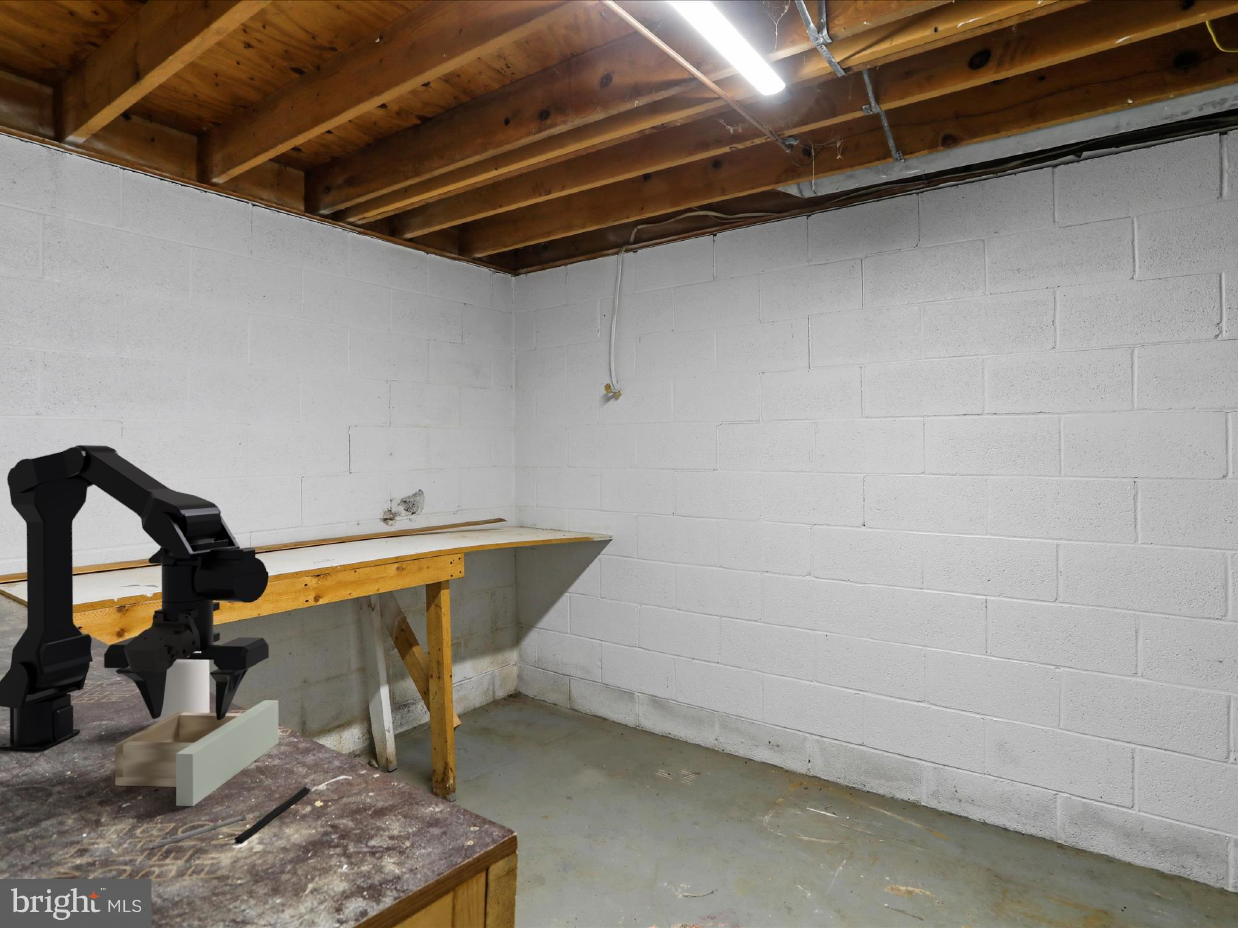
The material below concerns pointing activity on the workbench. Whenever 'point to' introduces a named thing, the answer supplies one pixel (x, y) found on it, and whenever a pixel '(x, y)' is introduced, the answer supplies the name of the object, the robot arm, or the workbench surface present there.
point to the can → (186, 688)
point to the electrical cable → (272, 815)
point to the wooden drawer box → (161, 748)
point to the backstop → (225, 752)
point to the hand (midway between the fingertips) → (188, 718)
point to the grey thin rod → (198, 831)
